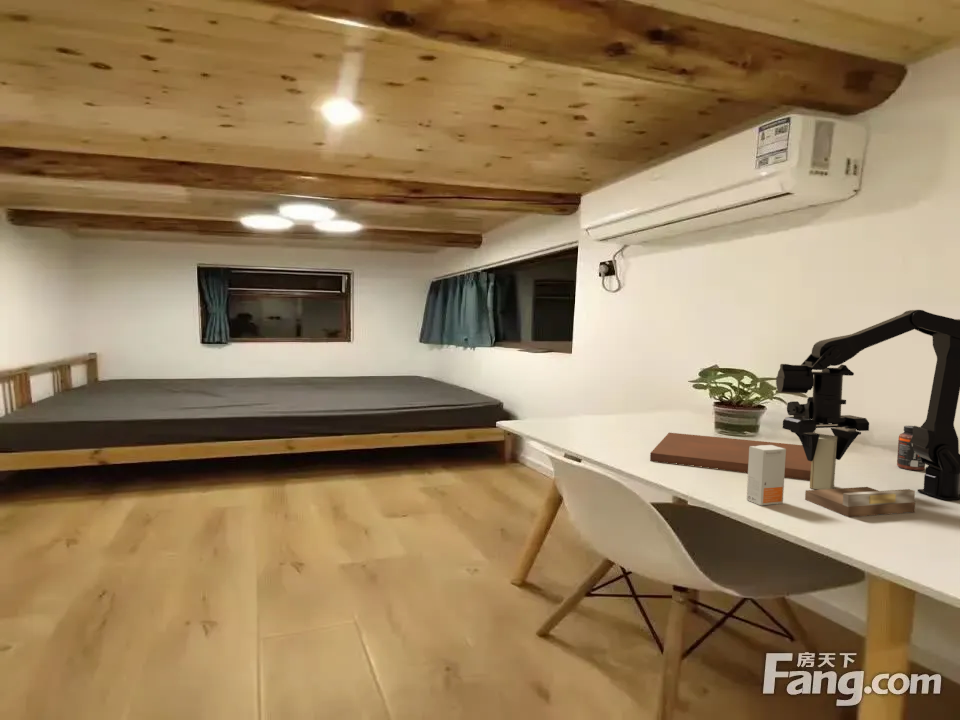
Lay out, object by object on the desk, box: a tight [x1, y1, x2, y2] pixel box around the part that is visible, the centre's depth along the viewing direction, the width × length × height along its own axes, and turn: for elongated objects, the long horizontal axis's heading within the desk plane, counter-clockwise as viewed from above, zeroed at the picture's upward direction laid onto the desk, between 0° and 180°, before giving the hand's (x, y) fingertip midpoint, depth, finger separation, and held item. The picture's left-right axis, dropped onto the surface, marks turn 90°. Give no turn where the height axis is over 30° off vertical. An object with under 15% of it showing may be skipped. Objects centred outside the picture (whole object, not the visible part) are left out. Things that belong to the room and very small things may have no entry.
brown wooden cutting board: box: [649, 432, 811, 481], centre depth 157 cm, size 40×3×33 cm
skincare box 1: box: [746, 445, 786, 506], centre depth 117 cm, size 6×4×12 cm
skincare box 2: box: [809, 433, 837, 490], centre depth 127 cm, size 6×4×12 cm
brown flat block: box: [804, 486, 916, 518], centre depth 115 cm, size 16×11×4 cm
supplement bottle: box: [896, 425, 926, 472], centre depth 146 cm, size 6×6×11 cm
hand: (823, 460), depth 127 cm, fingers closed on skincare box 2, 7 cm apart
